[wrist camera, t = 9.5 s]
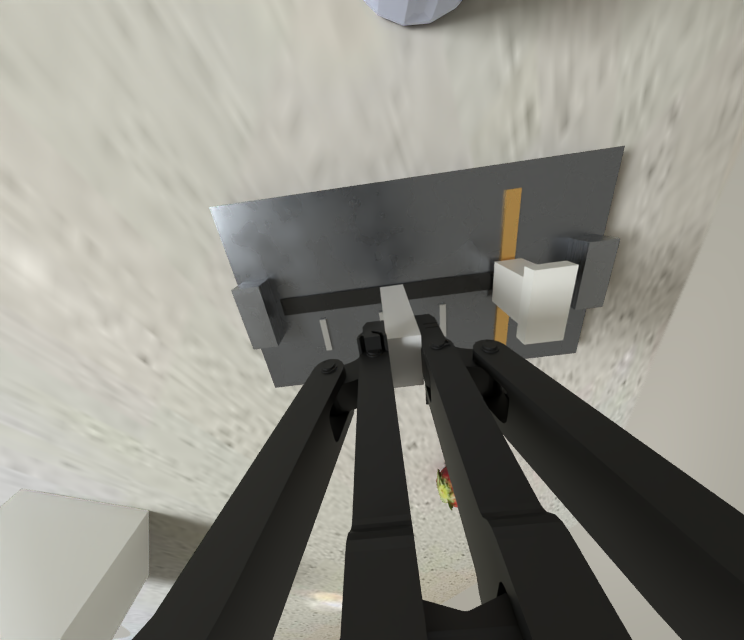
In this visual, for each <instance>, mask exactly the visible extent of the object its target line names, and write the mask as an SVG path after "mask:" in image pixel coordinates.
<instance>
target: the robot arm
mask: <svg viewBox="0 0 744 640" xmlns="http://www.w3.org/2000/svg"><path fill="white" fill-rule="evenodd" d="M380 293H381V301H382V309H383V317H384V320H381V321H373V322H366V324H365V325H364V326H363V331H362V333H361V334H359V335H358V337H357V344H358V350H359V358H358V359H356V360H355V361H353V362H350V363H348V364H345V365H344V364H343V362H342V361H340V360H338V359H328V360H325V361H322V362H321V363H319V364H318V365H317V366H316V367H315V368H314V369H313V371H312V372H311V374H310V375H309V377H308V379H307V380H306V382H305V383H304V385H303V386H302V388H301V389H300V391H299V392H298V394H297V395H296V397H295V399H294V400H293V402H292V403H291V405H290V406H289V408H288V409H287V411H286V412H285V414H284V416H283V417H282V419H281V420H280V422H279V423H278V425H277V426H276V428H275V429H274V431H273V432H272V434H271V436H270V437H269V439H268V440H267V442H266V443H265V445H264V446H263V448H262V449H261V451H260V452H259V454H258V456H257V457H256V459H255V460H254V462H253V463H252V465H251V466H250V468H249V469H248V471H247V472H246V474H245V476H244V477H243V479H242V480H241V482H240V483H239V485H238V486H237V488H236V489H235V491H234V492H233V494H232V496H231V497H230V499H229V500H228V502H227V503H226V505H225V506H224V508H223V509H222V511H221V512H220V514H219V516H218V517H217V519H216V520H215V522H214V523H213V525H212V526H211V528H210V529H209V531H208V532H207V534H206V536H205V537H204V539H203V540H202V542H201V543H200V545H199V546H198V548H197V549H196V551H195V552H194V554H193V556H192V557H191V559H190V560H189V562H188V563H187V565H186V566H185V568H184V569H183V571H182V573H181V574H180V576H179V577H178V579H177V580H176V582H175V583H174V585H173V586H172V588H171V589H170V591H169V593H168V594H167V596H166V597H165V599H164V600H163V602H162V603H161V605H160V606H159V608H158V609H157V611H156V613H155V614H154V616H153V617H152V618H151V619H150V620H149V621H148V622H147V623H146V625H145V626H144V627H143V628H142V629H141V630H140V631H139V632H138V633H137V635H136V636H135V637H134V638H133V639H132V640H273V637H274V634H275V631H276V628H277V626H278V623H279V620H280V617H281V615H282V612H283V609H284V606H285V603H286V601H287V598H288V595H289V592H290V590H291V587H292V584H293V581H294V578H295V576H296V573H297V570H298V567H299V564H300V562H301V559H302V556H303V553H304V551H305V548H306V545H307V542H308V539H309V537H310V534H311V531H312V528H313V526H314V523H315V520H316V517H317V514H318V512H319V509H320V506H321V503H322V501H323V498H324V495H325V492H326V489H327V487H328V484H329V481H330V478H331V475H332V473H333V470H334V467H335V464H336V462H337V459H338V456H339V453H340V450H341V448H342V445H343V442H344V439H345V437H346V434H347V431H348V428H349V425H350V423H351V420H352V417H353V414H354V409H356V408H357V423H356V446H355V469H354V493H353V516H352V527H351V530H350V532H349V533H348V536H347V541H346V551H345V568H344V585H343V602H342V619H341V636H340V640H632V639H631V637H630V635H629V634H628V632H627V630H626V628H625V627H624V625H623V623H622V621H621V620H620V618H619V616H618V615H617V613H616V611H615V609H614V608H613V606H612V604H611V603H610V601H609V599H608V597H607V596H606V594H605V592H604V591H603V589H602V587H601V585H600V584H599V582H598V580H597V579H596V577H595V575H594V573H593V572H592V570H591V568H590V566H589V565H588V563H587V561H586V560H585V558H584V556H583V555H582V553H581V551H580V549H579V548H578V546H577V544H576V542H575V541H574V539H573V537H572V536H571V534H570V532H569V531H568V529H567V528H566V526H565V525H564V523H563V522H562V521H561V520H560V519H559V518H558V517H557V516H556V515H555V514H552V513H549V512H547V511H546V510H545V509H544V508H543V507H542V506H541V504H540V502H539V501H538V499H537V497H536V495H535V493H534V491H533V490H532V488H531V486H530V484H529V482H528V480H527V478H526V477H525V475H524V473H523V471H522V469H521V467H520V466H519V464H518V462H517V460H516V458H515V456H514V454H513V453H512V451H511V449H510V447H509V445H508V443H507V442H506V440H505V438H504V436H505V437H506V439H507V440H508V441H509V442H510V443H511V444H512V445H513V447H514V448H515V449H516V450H517V451H518V452H519V454H520V455H521V456H522V457H523V458H524V459H525V460H526V462H527V463H528V464H529V465H530V466H531V467H532V469H533V470H534V471H535V472H536V473H537V474H538V476H539V477H540V478H541V479H542V480H543V481H544V482H545V484H546V485H547V486H548V487H549V488H550V489H551V491H552V492H553V493H554V494H555V495H556V496H557V497H558V499H559V500H560V501H561V502H562V503H563V504H564V506H565V507H566V508H567V509H568V510H569V511H570V512H571V514H572V515H573V516H574V517H575V518H576V519H577V521H578V522H579V523H580V524H581V525H582V526H583V527H584V529H585V530H586V531H587V532H588V533H589V534H590V536H591V537H592V538H593V539H594V540H595V541H596V542H597V544H598V545H599V546H600V547H601V548H602V549H603V550H604V552H605V553H606V554H607V555H608V556H609V557H610V559H611V560H612V561H613V562H614V563H615V564H616V566H617V567H618V568H619V569H620V570H621V571H622V572H623V574H624V575H625V576H626V577H627V578H628V579H629V581H630V582H631V583H632V584H633V585H634V586H635V588H636V589H637V590H638V591H639V592H640V593H641V594H642V596H643V597H644V598H645V599H646V600H647V601H648V602H649V604H650V605H651V606H652V607H653V608H654V609H655V610H656V612H657V613H658V614H659V615H660V616H661V617H662V618H663V619H664V620H665V622H666V623H667V624H668V625H669V626H670V627H671V628H672V629H673V630H674V631H675V633H676V634H677V635H678V636H679V637H680V638H681V639H682V640H744V515H743V514H742V513H741V512H739V511H738V510H736V509H735V508H734V507H732V506H731V505H729V504H728V503H727V502H725V501H724V500H722V499H721V498H719V497H718V496H717V495H715V494H714V493H713V492H711V491H710V490H708V489H707V488H705V487H704V486H703V485H701V484H700V483H698V482H697V481H696V480H694V479H693V478H691V477H690V476H689V475H687V474H686V473H684V472H683V471H682V470H680V469H679V468H677V467H676V466H675V465H673V464H672V463H670V462H669V461H668V460H666V459H665V458H663V457H662V456H661V455H659V454H658V453H656V452H655V451H654V450H652V449H651V448H649V447H648V446H647V445H645V444H644V443H642V442H641V441H639V440H638V439H636V438H635V437H634V436H632V435H631V434H630V433H628V432H627V431H625V430H624V429H623V428H621V427H620V426H618V425H617V424H616V423H614V422H613V421H611V420H610V419H609V418H607V417H606V416H604V415H603V414H602V413H600V412H599V411H597V410H596V409H594V408H593V407H592V406H590V405H589V404H587V403H586V402H585V401H583V400H582V399H580V398H579V397H578V396H576V395H575V394H573V393H572V392H571V391H569V390H568V389H566V388H565V387H564V386H562V385H561V384H559V383H558V382H557V381H555V380H554V379H552V378H551V377H550V376H548V375H547V374H545V373H544V372H542V371H541V370H540V369H538V368H537V367H535V366H534V365H533V364H531V363H530V362H528V361H527V360H526V359H524V358H523V357H521V356H520V355H519V354H517V353H516V352H514V351H513V350H512V349H510V348H509V347H507V346H506V345H505V344H503V343H501V342H499V341H495V340H490V339H486V340H480V341H477V342H475V344H474V345H473V349H466V348H459V347H455V346H454V344H453V342H452V341H451V340H449V339H447V338H445V336H444V334H443V333H442V331H441V329H440V327H439V325H438V323H437V321H436V319H435V317H433V316H432V315H430V314H423V315H415V316H414V314H413V311H412V309H411V306H410V303H409V300H408V298H407V295H406V292H405V289H404V287H403V284H401V285H394V286H386V287H380ZM423 377H424V378H423ZM424 381H425V389H426V404H429V406H430V409H431V413H432V416H433V420H434V424H435V427H436V431H437V434H438V438H439V442H440V445H441V449H442V452H443V456H444V459H445V463H446V467H447V470H448V474H449V477H450V481H451V485H452V488H453V492H454V495H455V499H456V502H457V506H458V510H459V513H460V517H461V520H462V524H463V528H464V531H465V535H466V538H467V542H468V545H469V549H470V553H471V556H472V560H473V563H474V567H475V571H476V576H477V582H478V589H479V595H480V599H481V604H482V605H480V606H478V607H476V608H474V609H472V610H470V611H461V610H457V609H453V608H450V607H446V606H443V605H439V604H436V603H432V602H429V601H425V600H422V594H421V586H420V579H419V571H418V564H417V557H416V549H415V542H414V535H413V527H412V521H411V513H410V506H409V498H408V491H407V484H406V476H405V469H404V461H403V454H402V446H401V439H400V431H399V424H398V417H397V409H396V402H395V394H394V388H397V387H406V386H415V385H423V384H424ZM503 435H504V436H503Z"/></svg>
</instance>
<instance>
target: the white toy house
mask: <svg viewBox="0 0 744 640" xmlns="http://www.w3.org/2000/svg"><path fill="white" fill-rule="evenodd" d="M148 576H149V510H143V509H138V508H132V507H126V506H120V505H114V504H109V503H103V502H97V501H91V500H85V499H80V498H74V497H68V496H62V495H56V494H51V493H45V492H39V491H33V490H27V489H21V490H19V491H18V492H17V493H16V494H15V495H13V496H12V497H11V498H10V499H9V500H8V501H6V502H5V503H4V504H3V505H2V506H1V507H0V640H112V639H113V637H114V635H115V633H116V632H117V630H118V628H119V626H120V625H121V623H122V621H123V619H124V618H125V616H126V614H127V612H128V611H129V609H130V607H131V605H132V604H133V602H134V600H135V598H136V597H137V595H138V593H139V592H140V590H141V588H142V586H143V585H144V583H145V581H146V579H147V578H148Z"/></svg>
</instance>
